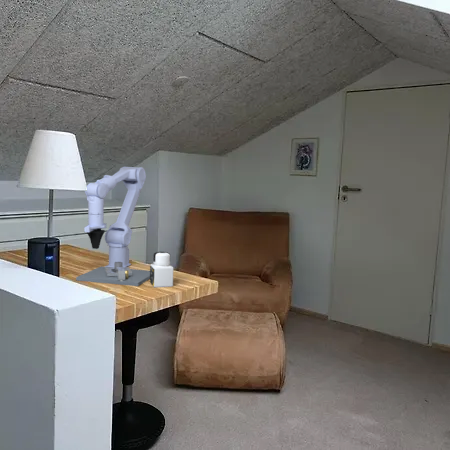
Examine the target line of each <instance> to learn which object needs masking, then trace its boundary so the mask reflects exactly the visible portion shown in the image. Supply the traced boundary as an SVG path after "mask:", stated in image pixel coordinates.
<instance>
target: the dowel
mask: <svg viewBox="0 0 450 450" xmlns="http://www.w3.org/2000/svg"><path fill="white" fill-rule="evenodd" d="M128 277H129V271H128V270H125V279H128Z"/></svg>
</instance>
